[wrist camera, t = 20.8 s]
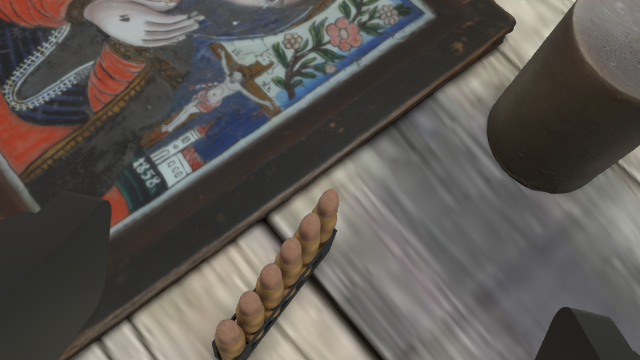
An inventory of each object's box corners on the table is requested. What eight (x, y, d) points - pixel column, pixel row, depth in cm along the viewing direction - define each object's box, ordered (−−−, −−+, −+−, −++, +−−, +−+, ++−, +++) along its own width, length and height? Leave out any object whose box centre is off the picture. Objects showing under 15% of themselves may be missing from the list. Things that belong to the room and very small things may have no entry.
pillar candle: (521, 209, 45) (641, 116, 32) (466, 103, 48) (553, -24, 35) (623, 173, 48) (777, 71, 34) (564, 74, 51) (683, -57, 37)
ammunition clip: (310, 233, 43) (329, 167, 32) (330, 248, 43) (357, 187, 32) (213, 355, 39) (197, 329, 28) (235, 373, 39) (228, 353, 28)
